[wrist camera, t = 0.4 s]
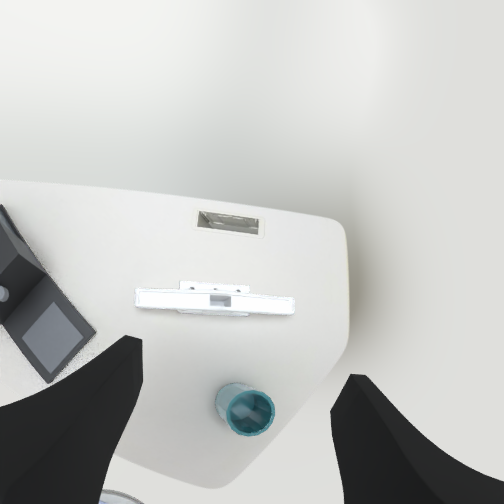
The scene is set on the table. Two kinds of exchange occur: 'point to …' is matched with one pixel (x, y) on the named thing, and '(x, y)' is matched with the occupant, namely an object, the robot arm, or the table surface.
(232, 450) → the table surface
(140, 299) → the t-shaped cleat
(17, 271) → the coffee maker
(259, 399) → the cup
